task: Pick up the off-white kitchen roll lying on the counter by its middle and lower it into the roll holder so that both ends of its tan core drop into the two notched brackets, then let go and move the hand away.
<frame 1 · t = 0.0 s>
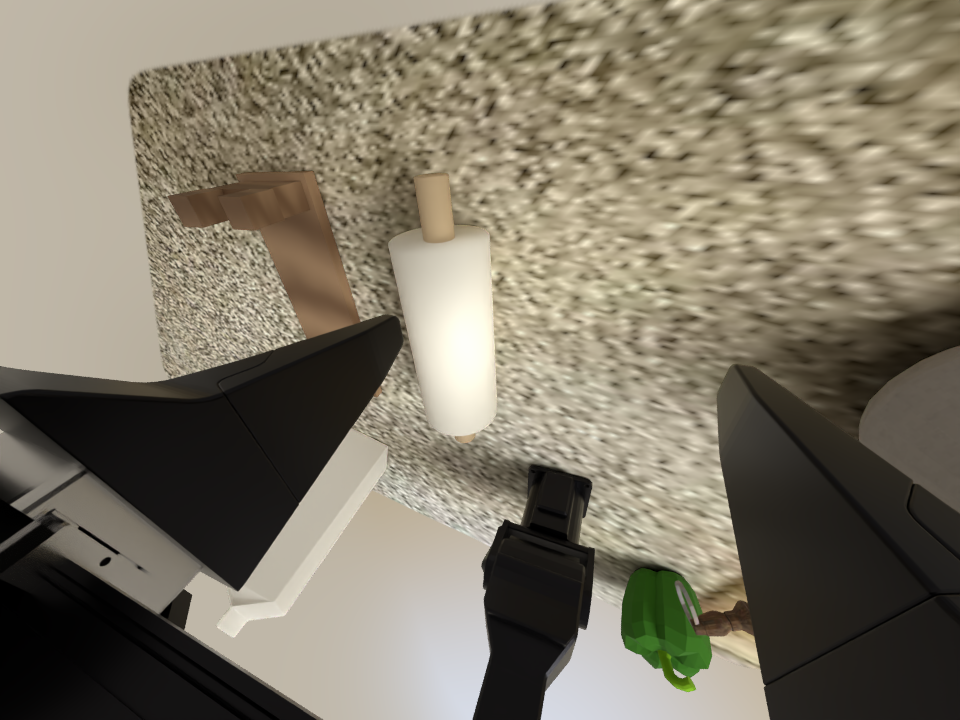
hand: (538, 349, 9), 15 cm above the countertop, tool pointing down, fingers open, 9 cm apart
kitchen roll: (452, 337, 26), point 3 cm above the countertop
bell pepper: (661, 576, 40), on the countertop
coffee pot: (854, 396, 21), on the countertop
milk: (370, 447, 47), on the countertop
roll holder: (325, 299, 33), on the countertop
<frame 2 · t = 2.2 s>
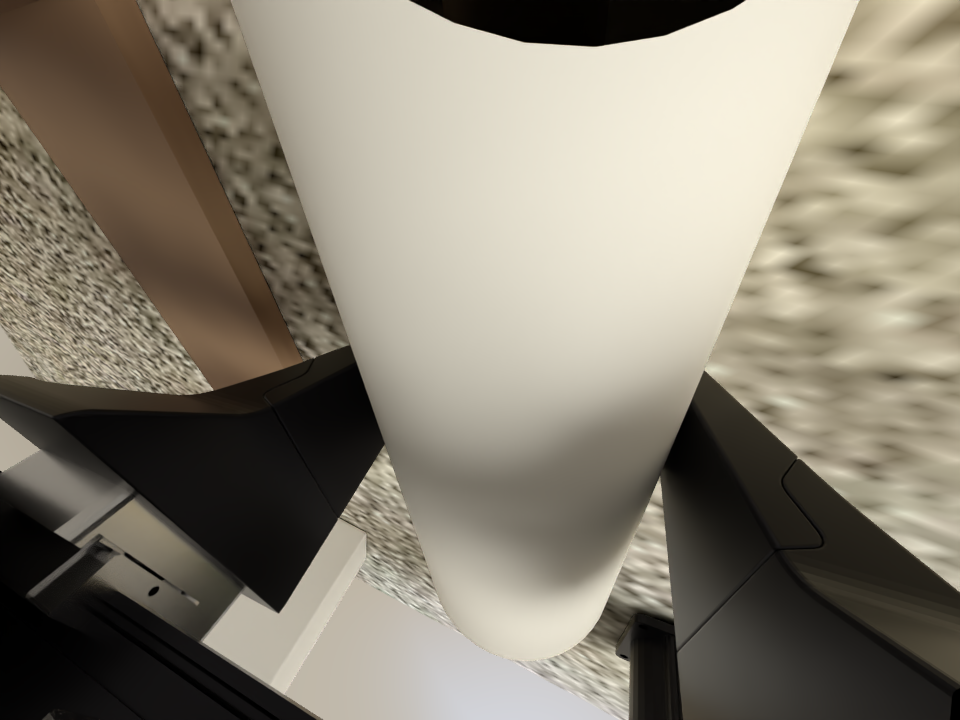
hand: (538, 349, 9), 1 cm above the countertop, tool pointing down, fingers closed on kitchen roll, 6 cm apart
kitchen roll: (520, 393, 8), point 3 cm above the countertop, touching gripper
milk: (339, 527, 29), on the countertop
roll holder: (212, 283, 15), on the countertop
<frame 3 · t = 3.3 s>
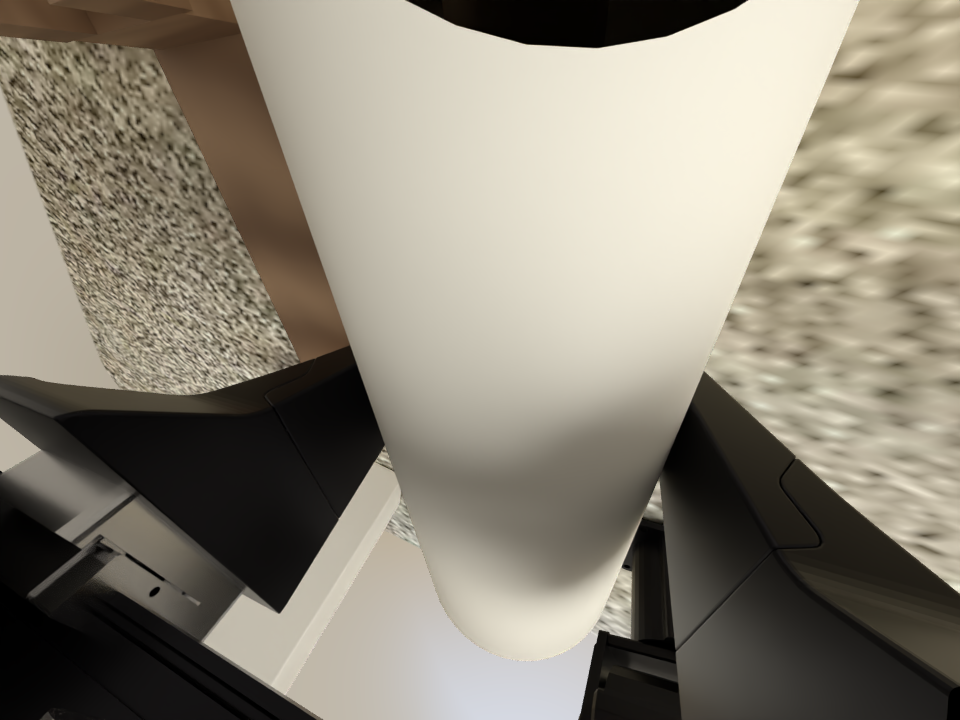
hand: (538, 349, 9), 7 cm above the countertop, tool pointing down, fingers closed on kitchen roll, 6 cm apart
kitchen roll: (520, 393, 8), point 9 cm above the countertop, touching gripper
milk: (376, 475, 34), on the countertop
roll holder: (305, 245, 19), on the countertop
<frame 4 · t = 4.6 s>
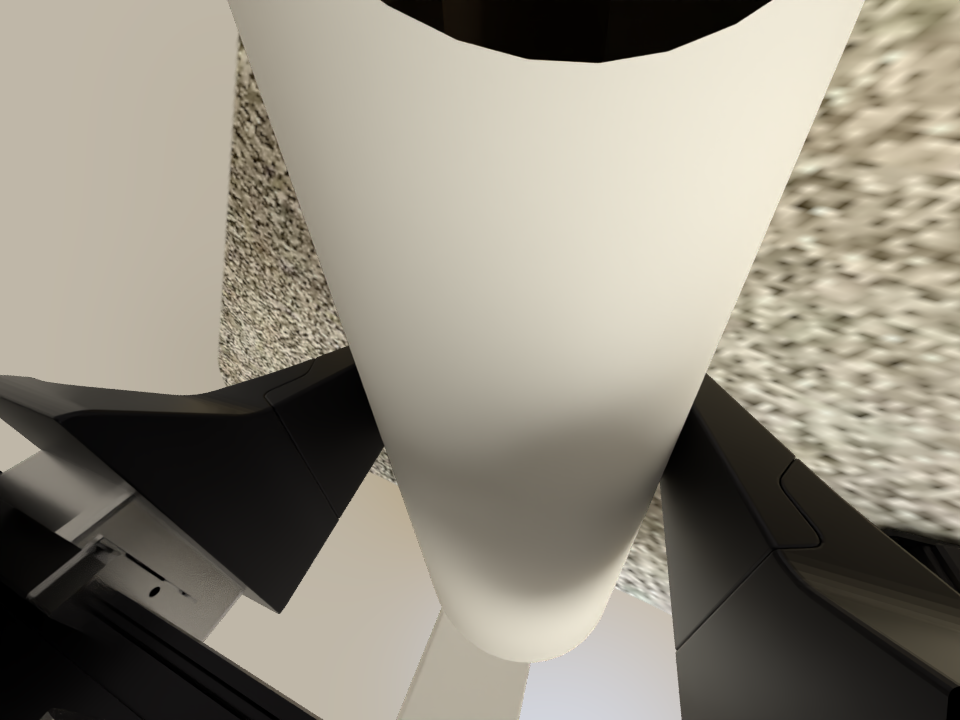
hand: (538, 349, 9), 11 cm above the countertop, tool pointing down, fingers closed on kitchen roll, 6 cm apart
kitchen roll: (520, 393, 8), point 13 cm above the countertop, touching gripper
milk: (527, 480, 32), on the countertop
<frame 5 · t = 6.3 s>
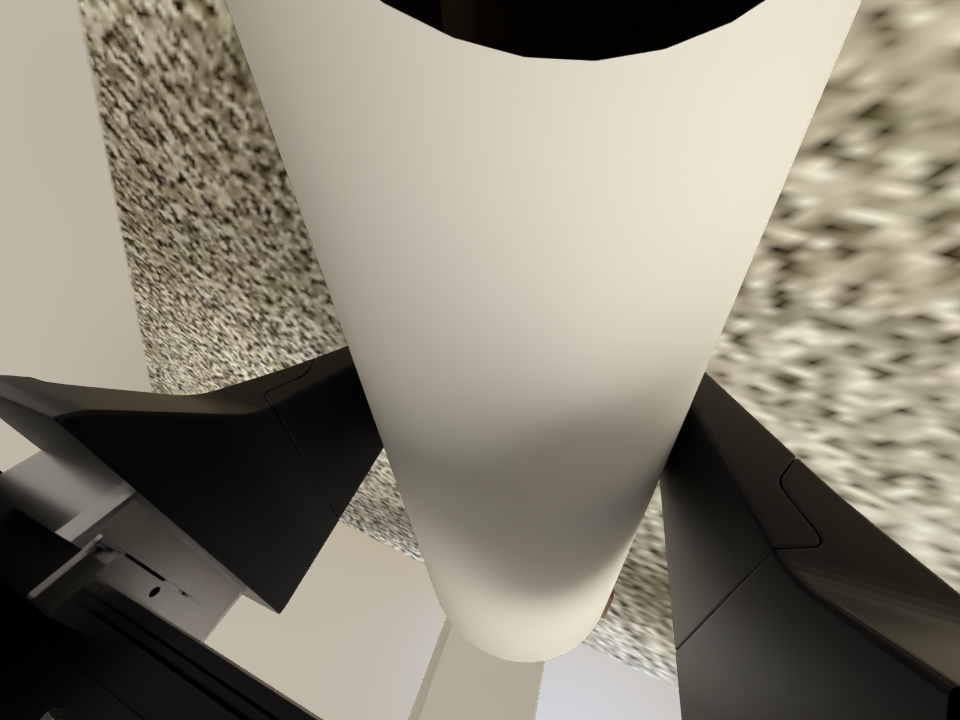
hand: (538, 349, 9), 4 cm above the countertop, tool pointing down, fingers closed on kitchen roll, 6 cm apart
kitchen roll: (519, 393, 8), point 6 cm above the countertop, touching gripper
milk: (514, 549, 27), on the countertop
when the fingers open (4 cm above the countertop, at t = 7.2 s): kitchen roll drops 1 cm, resting on roll holder.
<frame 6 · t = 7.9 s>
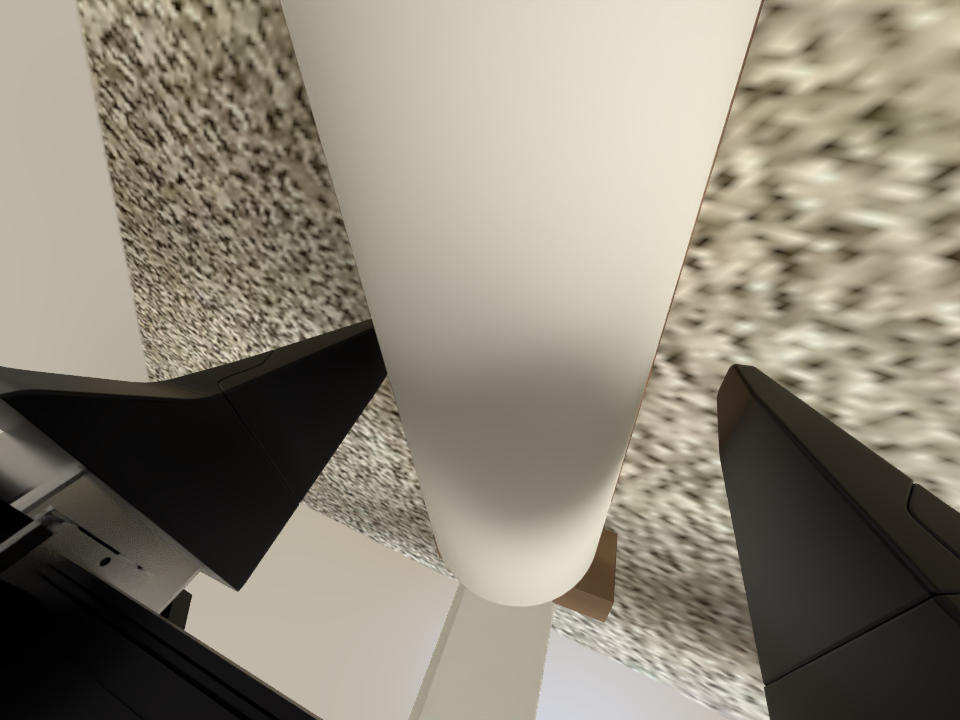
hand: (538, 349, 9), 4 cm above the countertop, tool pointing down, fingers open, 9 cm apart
kitchen roll: (513, 359, 9), point 5 cm above the countertop, tilted 30°, touching roll holder
milk: (514, 551, 27), on the countertop
roll holder: (563, 285, 13), on the countertop
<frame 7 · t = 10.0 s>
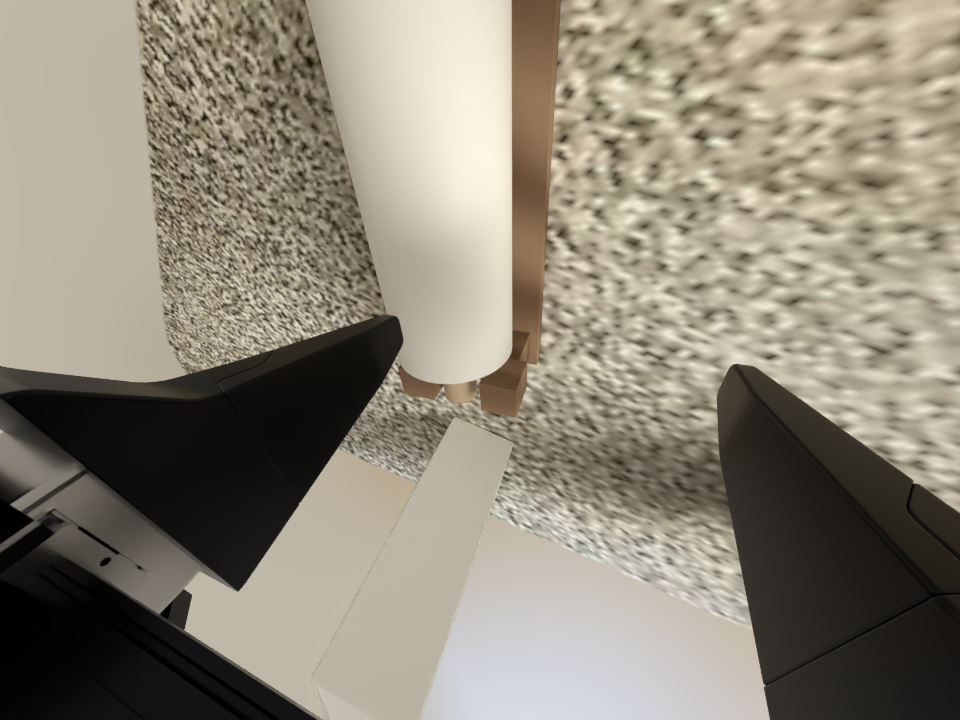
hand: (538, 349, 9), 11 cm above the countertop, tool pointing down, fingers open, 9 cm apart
kitchen roll: (437, 203, 14), point 5 cm above the countertop, tilted 26°, touching roll holder
milk: (477, 444, 33), on the countertop
roll holder: (484, 181, 18), on the countertop
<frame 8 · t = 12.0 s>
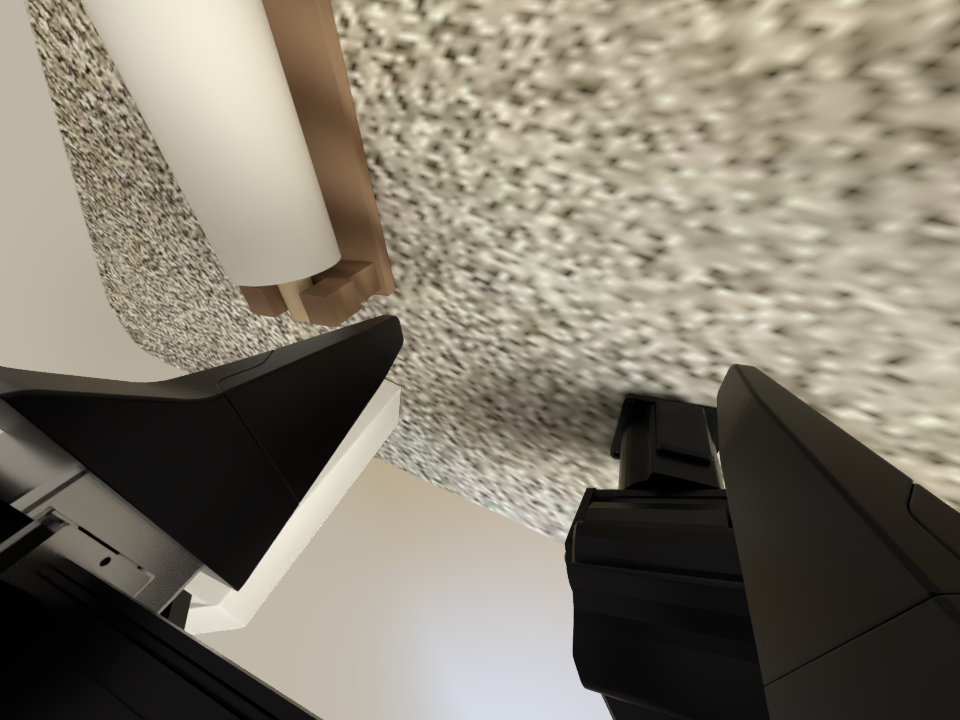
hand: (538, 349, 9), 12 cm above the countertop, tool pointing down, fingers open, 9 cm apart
kitchen roll: (226, 116, 17), point 5 cm above the countertop, tilted 21°, touching roll holder
milk: (375, 392, 35), on the countertop
roll holder: (307, 114, 20), on the countertop
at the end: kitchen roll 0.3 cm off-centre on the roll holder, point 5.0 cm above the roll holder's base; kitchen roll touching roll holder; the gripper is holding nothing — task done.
